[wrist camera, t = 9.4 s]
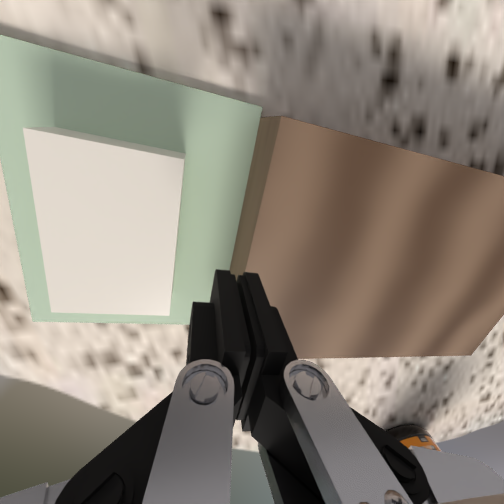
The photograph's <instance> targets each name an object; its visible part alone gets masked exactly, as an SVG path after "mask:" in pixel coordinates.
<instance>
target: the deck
mask: <svg viewBox="0 0 504 504" xmlns="http://www.w3.org/2000/svg"><path fill="white" fill-rule="evenodd" d="M230 272H231V274H234V275H235V277H236V281H237V277H238V275H243V273H244V272H251V273H258V274H259V277H260V280H261V282H262V285H263V287H264V290H265V293H266V295H267V298H268V301H269V303H270V306H274V307H276V308H277V309H278V311H279V314H280V316H281V319H282V321H283V324H284V326H285V328H286V331H287V333H288V336H289V338H290V341H291V343H292V346H293V348H294V350H295V353H296V355H297V358H298V359H311V358H362V357H412V356H463V355H472V353H473V352H474V351H475V350H476V348H477V347H478V346H479V345H480V343H481V342H482V341H483V340H484V338H485V337H486V336H487V335H488V333H489V332H490V331H491V330H492V329H493V327H494V326H495V325H496V324H497V322H498V321H499V320H500V319H501V317H502V316H503V315H504V176H501V175H498V174H494V173H490V172H486V171H483V170H479V169H475V168H472V167H468V166H464V165H461V164H457V163H453V162H450V161H446V160H442V159H439V158H435V157H431V156H428V155H424V154H420V153H417V152H413V151H409V150H405V149H402V148H398V147H394V146H391V145H387V144H383V143H380V142H376V141H372V140H369V139H365V138H361V137H358V136H354V135H350V134H347V133H343V132H339V131H336V130H332V129H328V128H324V127H321V126H317V125H313V124H310V123H306V122H302V121H299V120H295V119H291V118H288V117H284V116H274V117H261V118H260V122H259V127H258V132H257V137H256V142H255V147H254V152H253V157H252V162H251V166H250V171H249V176H248V181H247V186H246V191H245V196H244V201H243V206H242V211H241V216H240V221H239V226H238V231H237V235H236V240H235V245H234V250H233V255H232V260H231V265H230Z"/></svg>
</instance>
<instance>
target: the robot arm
mask: <svg viewBox="0 0 504 504" xmlns="http://www.w3.org/2000/svg"><path fill="white" fill-rule="evenodd" d="M235 420H241V424H242V431H251V436H252V437H253V438H254V439H255V440H257V441H258V449H259V454H260V457H261V460H262V464H263V467H264V470H265V474H266V477H267V480H268V484H269V487H270V490H271V494H272V497H273V500H274V504H504V480H503V479H502V477H500V476H499V475H498V474H497V473H496V472H495V471H494V470H493V469H492V468H490V467H489V466H487V465H486V464H484V463H483V462H481V461H479V460H477V459H474V458H471V457H466V456H462V455H457V454H452V453H446V452H442V451H437V450H432V449H427V448H422V447H417V446H412V445H411V446H410V447H409V448H407V447H406V446H405V445H404V444H402V443H401V442H400V441H399V440H397V439H396V438H394V437H393V436H391V435H390V434H389V433H387V432H386V431H384V430H383V429H381V428H380V427H378V426H377V425H375V424H374V423H373V422H371V421H370V420H368V419H367V418H365V417H364V416H362V415H361V414H359V413H358V412H356V411H355V410H354V409H352V408H351V407H349V405H348V404H347V402H346V401H345V399H344V398H343V396H342V395H341V393H340V392H339V390H338V389H337V387H336V386H335V384H334V383H333V381H332V380H331V378H330V377H329V376H328V374H327V373H326V372H325V371H324V370H323V369H322V368H320V367H319V366H318V365H316V364H314V363H312V362H310V361H306V360H298V358H297V355H296V353H295V350H294V348H293V346H292V343H291V341H290V338H289V336H288V333H287V331H286V328H285V326H284V324H283V321H282V319H281V316H280V314H279V311H278V309H277V308H276V307H274V306H270V303H269V301H268V298H267V295H266V293H265V290H264V287H263V285H262V282H261V280H260V277H259V274H258V273H251V272H244V273H243V275H238V277H237V281H236V277H235V275H234V274H231V272H230V270H220V269H216V270H215V274H214V280H213V286H212V291H211V297H210V302H194V301H193V303H192V309H191V316H190V324H189V334H188V347H187V362H186V366H185V367H184V368H183V369H182V370H181V371H180V373H179V375H178V377H177V379H176V383H175V386H174V390H173V392H172V393H171V394H169V395H168V396H167V397H166V398H165V399H163V400H162V401H161V402H160V403H159V404H157V405H156V406H155V407H154V408H153V409H152V410H150V411H149V412H148V413H147V414H146V415H144V416H143V417H142V418H141V419H140V420H139V421H137V422H136V423H135V424H134V425H133V426H132V427H130V428H129V429H128V430H127V431H125V433H123V434H122V435H121V436H120V437H118V438H117V439H116V440H115V441H114V442H112V443H111V444H110V445H109V446H108V447H106V448H105V449H104V450H103V451H102V452H101V453H99V454H98V455H97V456H96V457H95V458H93V459H92V460H91V461H90V462H89V463H88V464H86V465H85V466H84V467H83V468H82V469H80V470H79V471H78V472H77V473H76V474H75V475H74V477H73V478H71V479H70V480H67V481H64V482H61V483H58V484H55V485H52V486H49V487H48V483H47V482H46V483H44V484H40V485H37V486H34V487H31V488H28V489H25V490H22V491H19V492H16V493H13V494H10V495H7V496H4V497H1V498H0V504H230V487H231V485H230V484H231V460H232V434H233V426H234V423H235Z"/></svg>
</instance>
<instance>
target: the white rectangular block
mask: <svg viewBox="0 0 504 504" xmlns="http://www.w3.org/2000/svg"><path fill="white" fill-rule="evenodd" d="M23 133H24V139H25V146H26V152H27V159H28V165H29V172H30V178H31V185H32V191H33V198H34V204H35V211H36V217H37V224H38V230H39V237H40V243H41V249H42V256H43V262H44V269H45V275H46V282H47V288H48V295H49V301H50V308H51V312H54V313H89V314H124V315H159V316H169V315H170V307H171V299H172V291H173V281H174V271H175V261H176V250H177V240H178V230H179V219H180V209H181V199H182V189H183V178H184V168H185V158H186V153H181V152H176V151H171V150H166V149H161V148H157V147H152V146H147V145H142V144H137V143H132V142H127V141H122V140H117V139H112V138H107V137H103V136H98V135H93V134H88V133H83V132H78V131H73V130H68V129H63V128H58V127H27V128H23Z"/></svg>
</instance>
